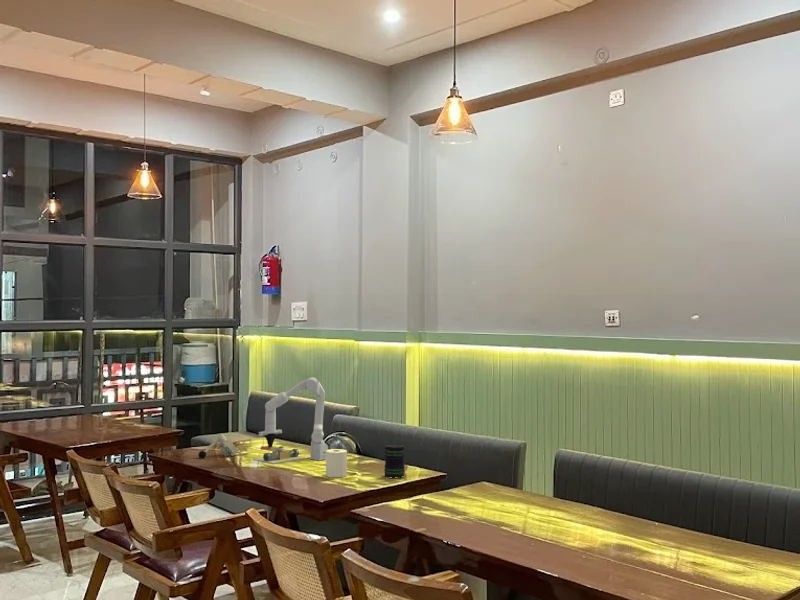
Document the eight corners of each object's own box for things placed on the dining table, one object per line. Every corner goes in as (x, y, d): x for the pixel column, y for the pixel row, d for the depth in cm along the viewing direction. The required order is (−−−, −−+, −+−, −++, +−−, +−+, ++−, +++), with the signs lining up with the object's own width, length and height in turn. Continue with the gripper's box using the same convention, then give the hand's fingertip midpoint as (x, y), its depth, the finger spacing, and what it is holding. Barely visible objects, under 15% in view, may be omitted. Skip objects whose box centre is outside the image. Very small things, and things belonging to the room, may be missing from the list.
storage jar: (380, 476, 374) (380, 445, 375) (395, 473, 381) (396, 443, 381) (393, 479, 367) (393, 447, 367) (408, 477, 373) (409, 446, 374)
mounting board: (304, 458, 418) (304, 457, 418) (272, 463, 401) (272, 462, 401) (285, 454, 428) (285, 453, 428) (253, 459, 412) (253, 458, 412)
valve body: (300, 458, 419) (300, 449, 419) (269, 462, 403) (269, 453, 404) (292, 456, 423) (292, 448, 423) (261, 461, 408) (262, 452, 408)
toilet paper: (350, 475, 375) (351, 450, 375) (337, 478, 366) (338, 453, 367) (334, 472, 381) (334, 448, 381) (321, 476, 372) (321, 450, 372)
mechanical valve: (241, 451, 421) (224, 431, 416) (218, 475, 412) (200, 455, 408) (234, 450, 429) (217, 430, 425) (211, 473, 421) (193, 454, 416)
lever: (286, 450, 415) (286, 446, 415) (283, 451, 411) (283, 447, 411) (263, 448, 418) (263, 444, 418) (259, 449, 414) (260, 446, 414)
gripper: (276, 420, 426) (275, 445, 425) (255, 423, 415) (254, 448, 414) (284, 422, 421) (284, 447, 421) (263, 424, 410) (263, 450, 410)
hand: (270, 448), depth 417 cm, fingers closed, pressing on lever
